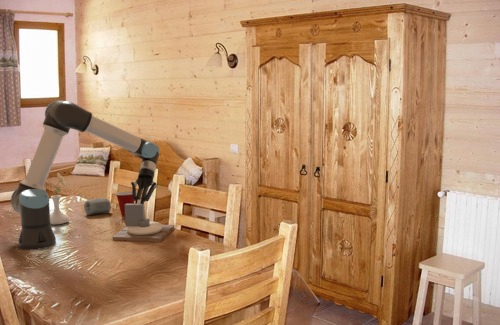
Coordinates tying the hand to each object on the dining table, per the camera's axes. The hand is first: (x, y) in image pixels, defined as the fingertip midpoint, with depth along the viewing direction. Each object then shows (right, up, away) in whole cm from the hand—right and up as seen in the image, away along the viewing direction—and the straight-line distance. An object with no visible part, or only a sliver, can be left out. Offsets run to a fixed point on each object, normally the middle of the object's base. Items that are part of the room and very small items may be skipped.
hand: (137, 212), depth 257 cm
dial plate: (+5, -9, -6) cm, 12 cm away
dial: (+4, -7, -6) cm, 11 cm away
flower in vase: (-42, -7, +14) cm, 45 cm away
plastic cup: (-12, -4, +30) cm, 33 cm away
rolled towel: (-28, -4, +32) cm, 43 cm away
